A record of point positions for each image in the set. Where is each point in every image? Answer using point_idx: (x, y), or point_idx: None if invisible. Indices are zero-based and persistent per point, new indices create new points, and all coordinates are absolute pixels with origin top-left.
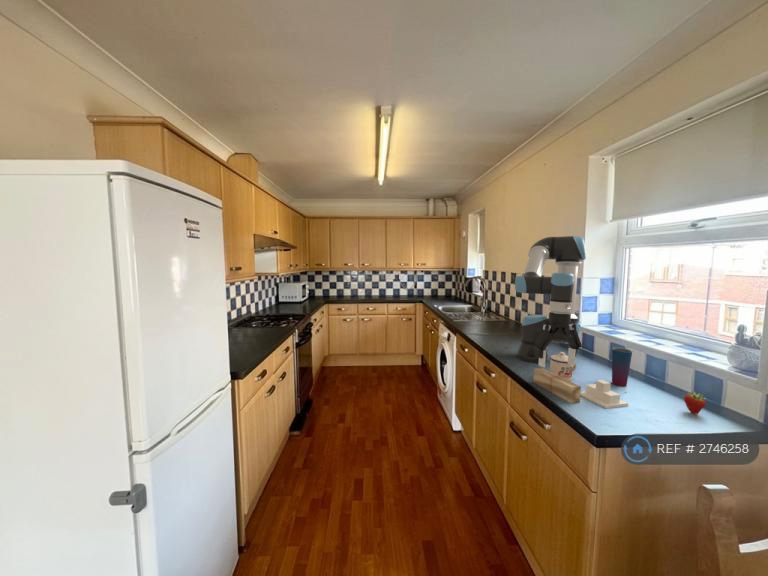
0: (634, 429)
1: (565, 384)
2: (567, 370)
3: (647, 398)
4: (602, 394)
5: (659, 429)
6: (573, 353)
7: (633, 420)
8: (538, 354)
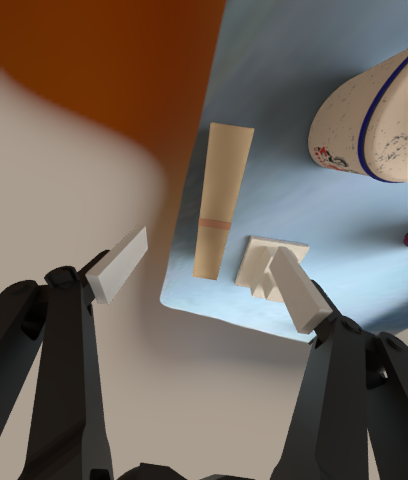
0: (209, 312)
1: (194, 263)
2: (349, 171)
3: (352, 287)
4: (256, 282)
5: (237, 320)
6: (288, 309)
7: (232, 305)
8: (93, 263)
